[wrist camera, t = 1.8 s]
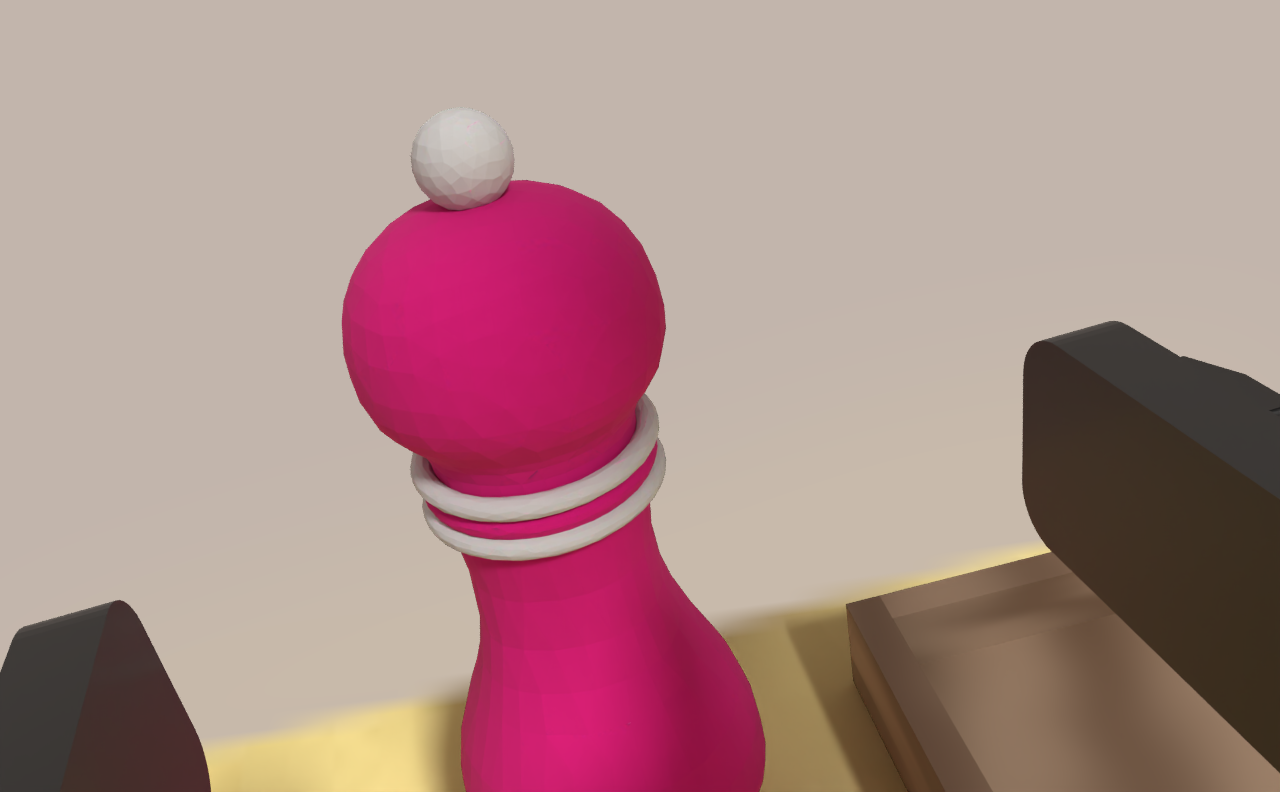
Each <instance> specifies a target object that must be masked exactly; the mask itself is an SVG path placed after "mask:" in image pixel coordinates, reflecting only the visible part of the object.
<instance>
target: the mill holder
mask: <svg viewBox="0 0 1280 792" xmlns="http://www.w3.org/2000/svg"><path fill="white" fill-rule="evenodd" d="M846 609H847V620H848V630H849V640H850V651H851V661H852V672H853V681H854V683H855V685H856V687H857V689H858V691H859V693H860V695H861V697H862V699H863V701H864V703H865V705H866V707H867V709H868V711H869V713H870V715H871V717H872V719H873V721H874V723H875V725H876V727H877V729H878V731H879V734H880V736H881V738H882V740H883V742H884V744H885V746H886V748H887V750H888V752H889V754H890V756H891V758H892V760H893V762H894V764H895V766H896V768H897V770H898V772H899V774H900V776H901V778H902V780H903V782H904V784H905V786H906V788H907V790H908V792H1280V773H1279V772H1278V771H1277V770H1276V769H1275V768H1274V767H1273V766H1272V765H1271V764H1270V763H1269V762H1268V761H1267V760H1266V759H1265V758H1264V757H1263V756H1262V755H1261V754H1260V753H1258V752H1257V751H1256V750H1255V749H1254V748H1253V747H1252V746H1251V745H1250V744H1249V743H1248V742H1247V741H1246V740H1245V739H1244V738H1243V737H1242V736H1241V735H1240V734H1239V733H1238V732H1237V731H1236V730H1235V729H1234V728H1233V727H1232V726H1231V725H1230V724H1229V723H1228V722H1227V721H1226V720H1225V719H1224V718H1222V717H1221V716H1220V715H1219V714H1218V713H1217V712H1216V711H1215V710H1214V709H1213V708H1212V707H1211V706H1210V705H1209V704H1208V703H1207V702H1206V701H1205V700H1204V699H1203V698H1202V697H1201V696H1200V695H1199V694H1198V693H1197V692H1196V691H1195V690H1194V689H1193V688H1192V687H1191V686H1190V685H1189V684H1187V683H1186V682H1185V681H1184V680H1183V679H1182V678H1181V677H1180V676H1179V675H1178V674H1177V673H1176V672H1175V671H1174V670H1173V669H1172V668H1171V667H1170V666H1169V665H1168V664H1167V663H1166V662H1165V661H1164V660H1163V659H1162V658H1161V657H1160V656H1159V655H1158V654H1157V653H1156V652H1155V651H1154V650H1153V649H1151V648H1150V647H1149V646H1148V645H1147V644H1146V643H1145V642H1144V641H1143V640H1142V639H1141V638H1140V637H1139V636H1138V635H1137V634H1136V633H1135V632H1134V631H1133V630H1132V629H1131V628H1130V627H1129V626H1128V625H1127V624H1126V623H1125V622H1124V621H1123V620H1122V619H1121V618H1120V617H1119V616H1118V615H1117V614H1115V613H1114V612H1113V611H1112V610H1111V609H1110V608H1109V607H1108V606H1107V605H1106V604H1105V603H1104V602H1103V601H1102V600H1101V599H1100V598H1099V597H1098V596H1097V595H1096V594H1095V593H1094V592H1093V591H1092V590H1091V589H1090V588H1089V587H1088V586H1087V585H1086V584H1085V583H1084V582H1083V581H1082V580H1080V579H1079V578H1078V577H1077V576H1076V575H1075V574H1074V573H1073V572H1072V571H1071V570H1070V569H1069V568H1068V567H1067V566H1066V565H1065V564H1064V563H1063V562H1062V561H1061V560H1060V559H1059V558H1058V557H1057V556H1056V555H1055V554H1054V553H1053V552H1050V553H1046V554H1042V555H1038V556H1034V557H1030V558H1026V559H1022V560H1018V561H1014V562H1011V563H1007V564H1003V565H999V566H995V567H991V568H987V569H983V570H979V571H975V572H971V573H967V574H963V575H959V576H955V577H951V578H947V579H943V580H939V581H936V582H932V583H928V584H924V585H920V586H916V587H912V588H908V589H904V590H900V591H896V592H892V593H888V594H884V595H880V596H876V597H872V598H868V599H865V600H861V601H857V602H853V603H849V604H846Z"/></svg>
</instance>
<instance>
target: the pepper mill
mask: <svg viewBox="0 0 1280 792" xmlns="http://www.w3.org/2000/svg"><path fill="white" fill-rule="evenodd" d="M411 163H412V171H413V174H414V176H415V179H416V182H417V184H418V185H419V187H420V188H421V190H422V191H423V192H424V193H425V194H426V195H427V196H428V197H429V198H430V200H428V201H426V202H424V203H422V204H419V205H417V206H415V207H413V208H412V209H410V210H409V211H407V212H406V213H404V214H403V215H402V216H400V217H399V218H397V219H396V220H395V221H393V222H392V223H390V224H389V225H388V226H387V227H386V228H385V230H384V231H383V232H382V233H381V234H380V235H379V236H378V237H377V238H376V239H375V241H374V242H373V243H372V244H371V245H370V246H369V247H368V249H366V251H365V252H364V254H363V256H362V258H361V260H360V261H359V263H358V265H357V266H356V268H355V270H354V272H353V274H352V277H351V279H350V283H349V286H348V289H347V292H346V295H345V299H344V303H343V314H342V333H343V350H344V357H345V361H346V364H347V368H348V371H349V375H350V378H351V381H352V383H353V386H354V388H355V391H356V393H357V396H358V399H359V401H360V403H361V405H362V406H363V407H364V409H365V410H366V411H367V413H368V414H369V416H370V417H371V418H372V420H373V421H374V423H375V424H376V425H377V427H378V428H379V430H380V431H381V432H383V433H384V434H385V435H387V436H388V437H390V438H391V439H392V440H394V441H395V442H396V443H398V444H400V445H402V446H403V447H405V448H407V449H409V450H410V451H412V452H413V455H412V461H411V477H412V480H413V484H414V486H415V487H416V490H417V491H418V492H419V493H420V495H421V496H422V497H423V512H424V516H425V519H426V521H427V524H428V526H429V528H430V529H431V530H432V532H433V533H434V534H435V535H436V537H438V538H439V539H440V540H441V541H442V542H444V543H445V544H446V545H447V546H449V547H451V548H453V549H455V550H457V551H459V552H461V553H462V555H463V558H464V560H465V562H466V565H467V567H468V569H469V572H470V576H471V580H472V584H473V588H474V593H475V597H476V601H477V605H478V609H479V614H480V645H479V651H478V656H477V660H476V664H475V667H474V671H473V674H472V678H471V682H470V687H469V692H468V697H467V702H466V707H465V712H464V717H463V722H462V727H461V768H462V774H463V780H464V785H465V789H466V792H759V791H760V788H761V785H762V782H763V776H764V767H765V738H764V733H763V728H762V723H761V719H760V715H759V712H758V709H757V705H756V702H755V699H754V695H753V692H752V689H751V686H750V683H749V681H748V680H747V678H746V676H745V674H744V672H743V670H742V668H741V666H740V665H739V663H738V661H737V660H736V658H735V656H734V654H733V653H732V651H731V649H730V648H729V646H728V644H727V643H726V641H725V640H724V639H723V638H722V636H721V635H720V634H719V632H718V631H717V630H716V629H715V628H714V627H713V626H712V624H711V623H710V622H709V621H708V620H707V619H706V618H705V617H704V616H703V614H702V613H701V612H700V611H699V610H698V609H697V608H696V607H695V606H694V605H693V604H692V602H691V601H690V600H689V599H688V597H687V596H686V595H685V593H684V592H683V591H682V589H681V588H680V586H679V585H678V584H677V583H676V581H675V580H674V578H673V577H672V576H671V574H670V573H669V570H668V568H667V566H666V564H665V563H664V561H663V559H662V557H661V555H660V552H659V549H658V545H657V542H656V538H655V535H654V531H653V527H652V524H651V510H650V502H651V500H652V499H653V498H654V497H655V495H656V493H657V491H658V489H659V488H660V486H661V484H662V481H663V478H664V474H665V466H666V465H665V464H666V457H665V453H664V448H663V445H662V444H661V442H660V440H659V439H658V431H659V423H658V415H657V412H656V408H655V406H654V405H653V403H652V402H651V400H650V399H649V398H648V397H647V395H645V394H644V393H645V391H646V389H647V387H648V386H649V384H650V382H651V380H652V379H653V377H654V375H655V373H656V371H657V369H658V367H659V362H660V357H661V353H662V347H663V341H664V336H665V329H666V324H665V311H664V303H663V299H662V296H661V292H660V288H659V285H658V281H657V278H656V274H655V272H654V270H653V268H652V266H651V264H650V261H649V259H648V257H647V255H646V253H645V251H644V249H643V246H642V245H641V243H640V242H639V241H638V239H637V238H636V237H635V236H634V234H633V233H632V232H631V231H630V229H629V228H628V227H627V226H626V224H625V223H624V222H623V221H622V220H621V219H620V218H618V217H617V216H616V215H615V214H614V213H612V212H611V211H610V210H608V208H606V207H605V206H604V205H603V204H602V203H600V202H598V201H596V200H594V199H591V198H589V197H587V196H585V195H583V194H580V193H578V192H576V191H574V190H571V189H569V188H566V187H563V186H560V185H555V184H549V183H541V182H535V181H528V180H517V181H510V180H511V178H512V175H513V172H514V154H513V147H512V144H511V142H510V140H509V138H508V136H507V134H506V132H505V130H504V129H503V128H502V127H501V126H500V125H499V124H498V123H497V122H496V121H495V120H494V119H493V118H491V117H490V116H488V115H487V114H485V113H483V112H479V111H477V110H474V109H470V108H451V109H448V110H445V111H441V112H439V113H437V114H436V115H434V116H433V117H432V118H430V120H428V121H427V122H426V123H425V124H424V125H423V126H422V127H421V128H420V129H419V131H418V133H417V135H416V138H415V140H414V142H413V147H412V152H411Z"/></svg>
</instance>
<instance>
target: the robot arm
mask: <svg viewBox="0 0 1280 792" xmlns="http://www.w3.org/2000/svg"><path fill="white" fill-rule="evenodd" d="M1022 485H1023V494H1024V499H1025V504H1026V507H1027V510H1028V513H1029V516H1030V519H1031V521H1032V523H1033V525H1034V527H1035V529H1036V531H1037V533H1038V534H1039V536H1040V538H1041V539H1042V541H1043V542H1044V543H1045V545H1046V546H1047V547H1048V548H1049V549H1050V550H1051V551H1052V552H1053V553H1054V554H1055V555H1056V556H1057V557H1058V558H1059V559H1060V560H1061V561H1062V562H1063V563H1064V564H1065V565H1066V566H1067V567H1068V568H1069V569H1070V570H1071V571H1072V572H1073V573H1074V574H1075V575H1076V576H1077V577H1078V578H1079V579H1080V580H1082V581H1083V582H1084V583H1085V584H1086V585H1087V586H1088V587H1089V588H1090V589H1091V590H1092V591H1093V592H1094V593H1095V594H1096V595H1097V596H1098V597H1099V598H1100V599H1101V600H1102V601H1103V602H1104V603H1105V604H1106V605H1107V606H1108V607H1109V608H1110V609H1111V610H1112V611H1113V612H1114V613H1115V614H1117V615H1118V616H1119V617H1120V618H1121V619H1122V620H1123V621H1124V622H1125V623H1126V624H1127V625H1128V626H1129V627H1130V628H1131V629H1132V630H1133V631H1134V632H1135V633H1136V634H1137V635H1138V636H1139V637H1140V638H1141V639H1142V640H1143V641H1144V642H1145V643H1146V644H1147V645H1148V646H1149V647H1150V648H1151V649H1153V650H1154V651H1155V652H1156V653H1157V654H1158V655H1159V656H1160V657H1161V658H1162V659H1163V660H1164V661H1165V662H1166V663H1167V664H1168V665H1169V666H1170V667H1171V668H1172V669H1173V670H1174V671H1175V672H1176V673H1177V674H1178V675H1179V676H1180V677H1181V678H1182V679H1183V680H1184V681H1185V682H1186V683H1187V684H1189V685H1190V686H1191V687H1192V688H1193V689H1194V690H1195V691H1196V692H1197V693H1198V694H1199V695H1200V696H1201V697H1202V698H1203V699H1204V700H1205V701H1206V702H1207V703H1208V704H1209V705H1210V706H1211V707H1212V708H1213V709H1214V710H1215V711H1216V712H1217V713H1218V714H1219V715H1220V716H1221V717H1222V718H1224V719H1225V720H1226V721H1227V722H1228V723H1229V724H1230V725H1231V726H1232V727H1233V728H1234V729H1235V730H1236V731H1237V732H1238V733H1239V734H1240V735H1241V736H1242V737H1243V738H1244V739H1245V740H1246V741H1247V742H1248V743H1249V744H1250V745H1251V746H1252V747H1253V748H1254V749H1255V750H1256V751H1257V752H1258V753H1260V754H1261V755H1262V756H1263V757H1264V758H1265V759H1266V760H1267V761H1268V762H1269V763H1270V764H1271V765H1272V766H1273V767H1274V768H1275V769H1276V770H1277V771H1278V772H1279V773H1280V394H1278V393H1276V392H1275V391H1273V390H1271V389H1270V388H1268V387H1266V386H1264V385H1263V384H1261V383H1259V382H1258V381H1256V380H1254V379H1252V378H1251V377H1249V376H1247V375H1245V374H1242V373H1239V372H1236V371H1232V370H1229V369H1225V368H1222V367H1218V366H1215V365H1212V364H1208V363H1205V362H1202V361H1198V360H1195V359H1192V358H1188V357H1185V356H1182V357H1179V356H1178V355H1176V354H1174V353H1173V352H1171V351H1170V350H1168V349H1166V348H1164V347H1163V346H1161V345H1159V344H1158V343H1156V342H1154V341H1153V340H1151V339H1150V338H1148V337H1146V336H1144V335H1143V334H1141V333H1140V332H1138V331H1136V330H1135V329H1133V328H1131V327H1130V326H1128V325H1126V324H1124V323H1122V322H1118V321H1109V322H1105V323H1102V324H1098V325H1095V326H1091V327H1088V328H1084V329H1081V330H1077V331H1073V332H1070V333H1067V334H1063V335H1059V336H1056V337H1052V338H1049V339H1045V340H1042V341H1039V342H1036V343H1034V344H1033V345H1032V346H1031V347H1030V349H1029V350H1028V352H1027V354H1026V357H1025V362H1024V371H1023V463H1022ZM0 792H211V787H210V779H209V773H208V767H207V763H206V759H205V755H204V751H203V748H202V745H201V742H200V740H199V737H198V735H197V733H196V731H195V728H194V726H193V724H192V722H191V720H190V719H189V716H188V714H187V712H186V711H185V708H184V707H183V705H182V702H181V701H180V699H179V697H178V695H177V693H176V691H175V689H174V687H173V685H172V683H171V681H170V679H169V677H168V675H167V673H166V671H165V669H164V667H163V665H162V663H161V661H160V659H159V657H158V655H157V653H156V651H155V649H154V647H153V645H152V643H151V641H150V639H149V637H148V635H147V633H146V631H145V629H144V627H143V625H142V623H141V621H140V619H139V618H138V616H137V614H136V613H135V612H134V610H133V609H132V608H131V607H130V606H129V605H128V604H127V603H125V602H124V601H121V600H117V601H113V602H109V603H106V604H103V605H99V606H95V607H92V608H88V609H85V610H81V611H78V612H75V613H71V614H67V615H64V616H60V617H57V618H53V619H50V620H46V621H42V622H39V623H36V624H32V625H29V626H25V627H23V628H21V629H19V631H18V632H17V633H16V634H15V636H14V638H13V640H12V643H11V645H10V648H9V651H8V653H7V657H6V659H5V661H4V664H3V667H2V669H1V672H0Z"/></svg>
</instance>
